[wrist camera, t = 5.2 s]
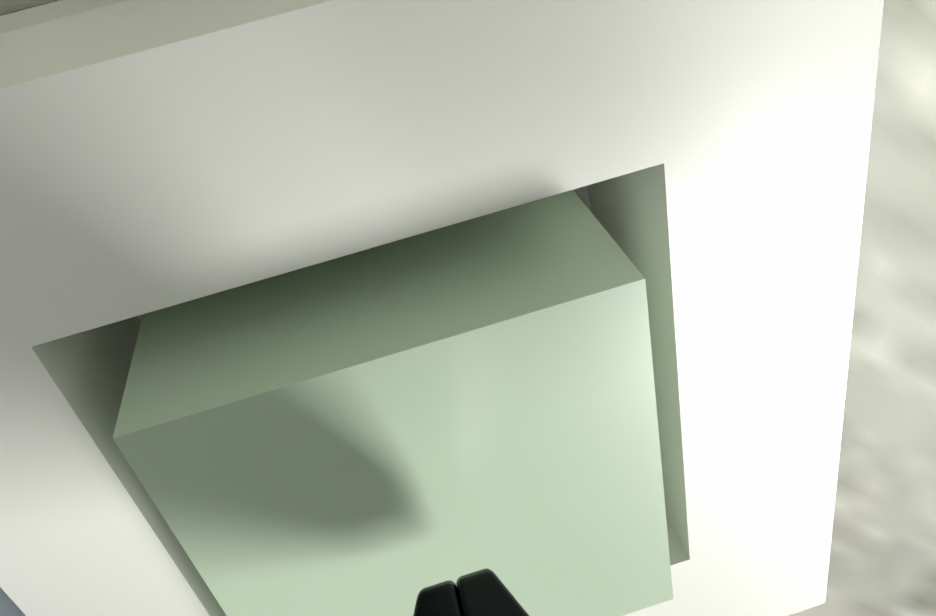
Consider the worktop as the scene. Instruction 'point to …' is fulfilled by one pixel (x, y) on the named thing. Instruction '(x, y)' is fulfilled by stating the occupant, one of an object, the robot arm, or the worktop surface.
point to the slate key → (8, 606)
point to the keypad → (425, 209)
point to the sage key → (413, 424)
